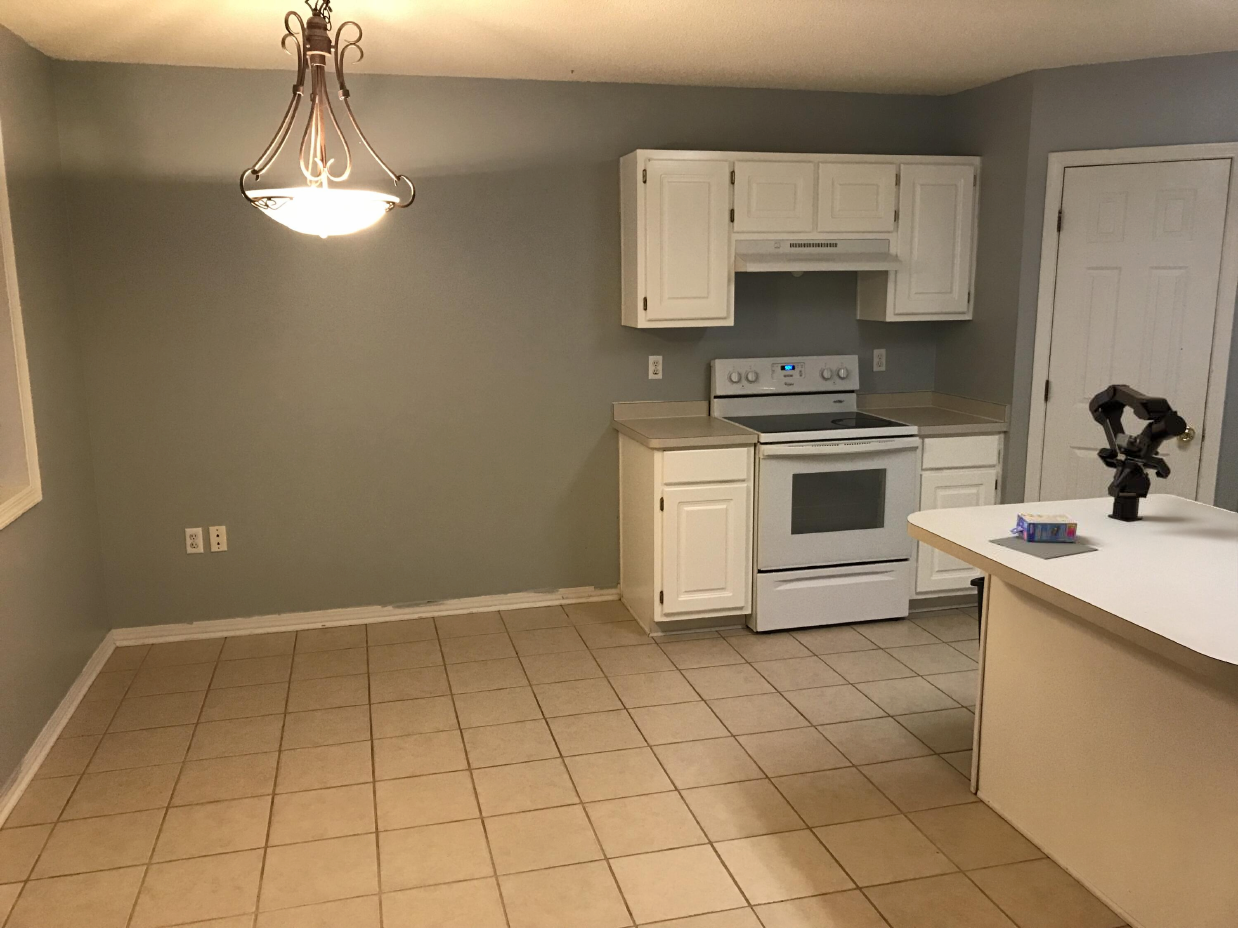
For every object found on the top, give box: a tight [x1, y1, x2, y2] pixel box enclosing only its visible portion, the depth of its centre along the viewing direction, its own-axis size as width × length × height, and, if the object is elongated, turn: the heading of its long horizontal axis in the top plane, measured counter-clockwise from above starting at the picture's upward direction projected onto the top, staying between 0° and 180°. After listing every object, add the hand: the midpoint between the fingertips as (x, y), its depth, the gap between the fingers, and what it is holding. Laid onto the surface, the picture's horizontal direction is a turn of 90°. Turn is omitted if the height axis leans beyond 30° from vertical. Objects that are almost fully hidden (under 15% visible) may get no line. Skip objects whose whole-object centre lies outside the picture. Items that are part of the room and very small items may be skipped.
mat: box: [988, 534, 1099, 560], centre depth 249 cm, size 18×18×1 cm
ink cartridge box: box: [1009, 513, 1078, 543], centre depth 255 cm, size 10×6×14 cm
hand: (1115, 487), depth 257 cm, fingers closed
